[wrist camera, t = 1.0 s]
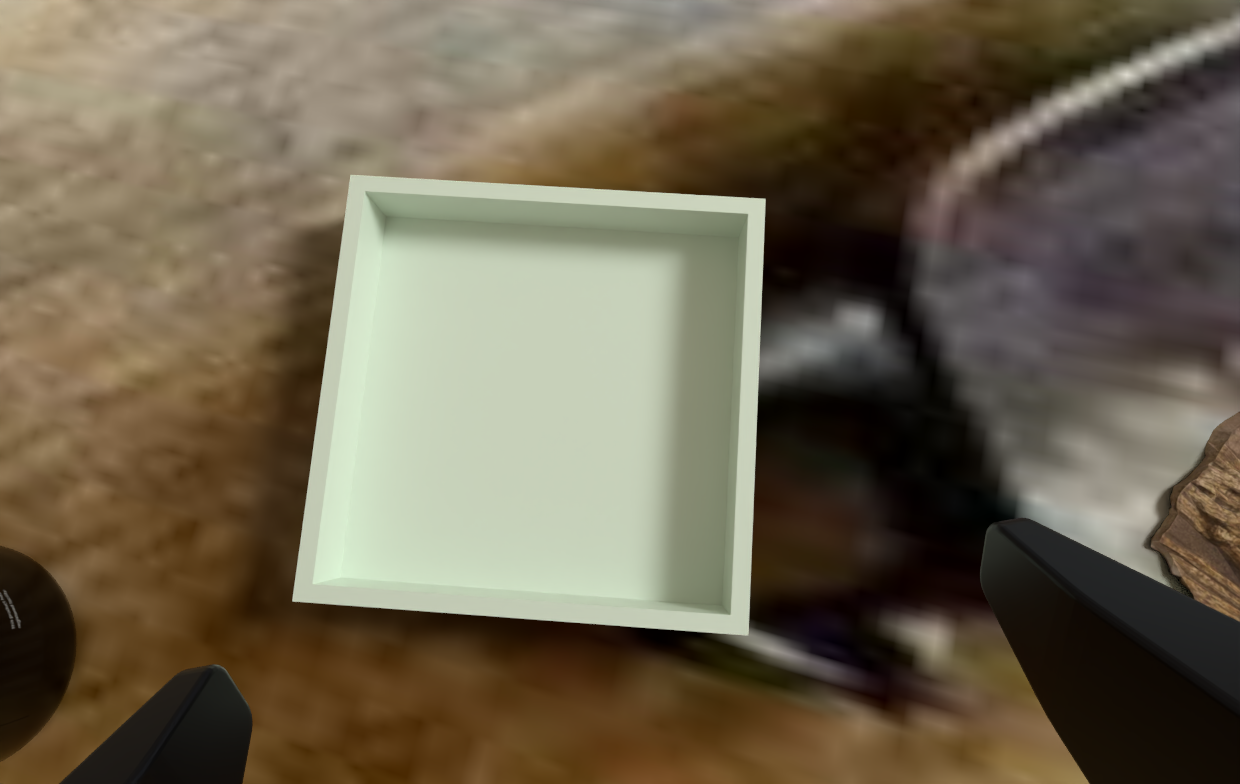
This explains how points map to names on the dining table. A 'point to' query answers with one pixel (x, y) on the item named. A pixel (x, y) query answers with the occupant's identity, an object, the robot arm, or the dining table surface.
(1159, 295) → the dining table surface
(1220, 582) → the wooden fragment
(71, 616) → the supplement bottle
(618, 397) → the tray
